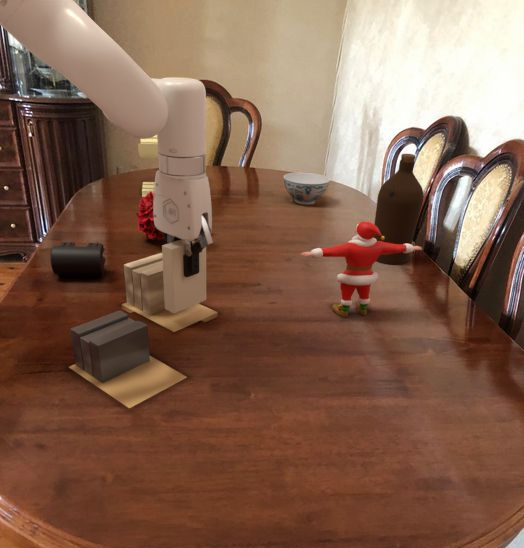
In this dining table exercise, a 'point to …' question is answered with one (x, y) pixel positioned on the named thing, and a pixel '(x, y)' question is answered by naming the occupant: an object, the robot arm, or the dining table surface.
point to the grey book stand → (120, 359)
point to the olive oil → (399, 209)
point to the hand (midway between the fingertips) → (185, 271)
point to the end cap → (78, 260)
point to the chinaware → (306, 186)
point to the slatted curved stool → (148, 150)
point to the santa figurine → (359, 264)
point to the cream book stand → (157, 296)
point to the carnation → (148, 219)
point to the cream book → (182, 278)
